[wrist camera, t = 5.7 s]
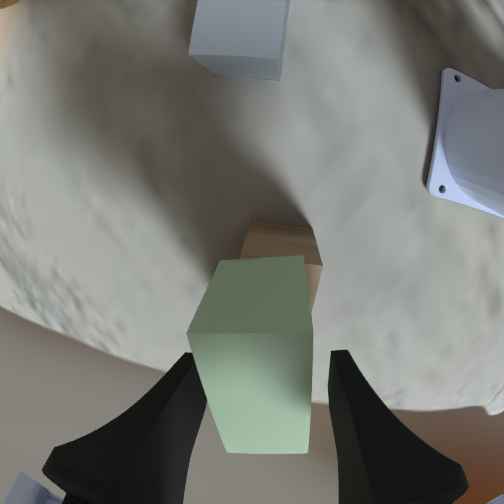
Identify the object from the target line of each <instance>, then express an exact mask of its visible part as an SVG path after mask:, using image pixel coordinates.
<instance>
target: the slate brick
mask: <svg viewBox="0 0 504 504" xmlns="http://www.w3.org/2000/svg"><path fill="white" fill-rule="evenodd" d="M289 3H290V0H198V2H197V7H196V12H195V17H194V22H193V28H192V34H191V40H190V46H189V52H188V55H189V56H190V57H192V58H193V59H194V60H196V61H197V62H198V63H200V64H201V65H202V66H204V67H205V68H206V69H207V70H209V71H210V72H211V73H213V74H214V75H215V76H234V77H247V78H258V79H268V80H276V81H280V74H281V66H282V59H283V51H284V43H285V35H286V27H287V19H288V11H289Z"/></svg>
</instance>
